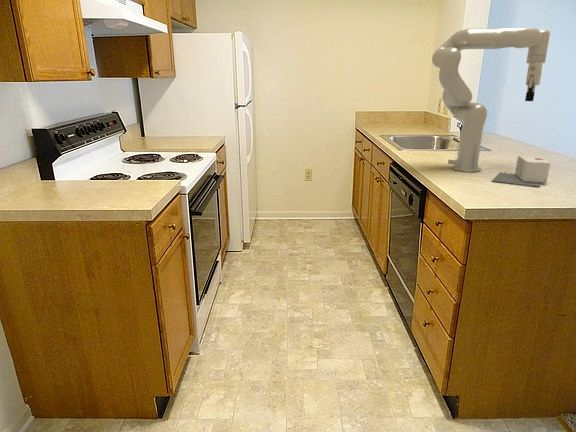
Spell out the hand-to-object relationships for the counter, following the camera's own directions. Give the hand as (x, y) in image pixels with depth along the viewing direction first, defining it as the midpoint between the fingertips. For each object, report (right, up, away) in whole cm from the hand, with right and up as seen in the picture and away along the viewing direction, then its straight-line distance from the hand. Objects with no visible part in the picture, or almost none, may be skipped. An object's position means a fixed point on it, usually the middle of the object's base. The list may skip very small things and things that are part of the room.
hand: (529, 101), depth 195 cm
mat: (-13, -39, -14) cm, 43 cm away
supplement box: (-6, -31, -8) cm, 33 cm away
